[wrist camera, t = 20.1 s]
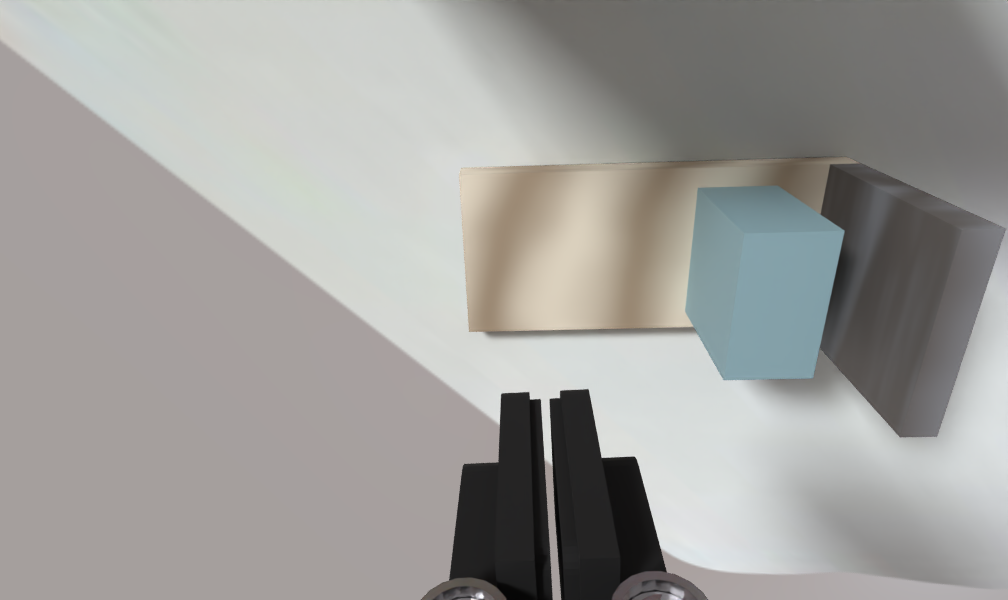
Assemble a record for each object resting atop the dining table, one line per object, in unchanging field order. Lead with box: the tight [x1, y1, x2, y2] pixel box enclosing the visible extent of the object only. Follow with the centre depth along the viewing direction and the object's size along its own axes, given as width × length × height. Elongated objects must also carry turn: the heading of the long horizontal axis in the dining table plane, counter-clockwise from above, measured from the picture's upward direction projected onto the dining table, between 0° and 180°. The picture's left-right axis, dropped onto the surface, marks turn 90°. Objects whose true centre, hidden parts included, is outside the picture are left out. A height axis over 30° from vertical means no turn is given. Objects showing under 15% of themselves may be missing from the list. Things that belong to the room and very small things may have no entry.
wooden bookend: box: [459, 157, 1006, 437], centre depth 29 cm, size 20×9×12 cm, turn 92°
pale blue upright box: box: [685, 185, 845, 380], centre depth 30 cm, size 4×7×7 cm, turn 2°
